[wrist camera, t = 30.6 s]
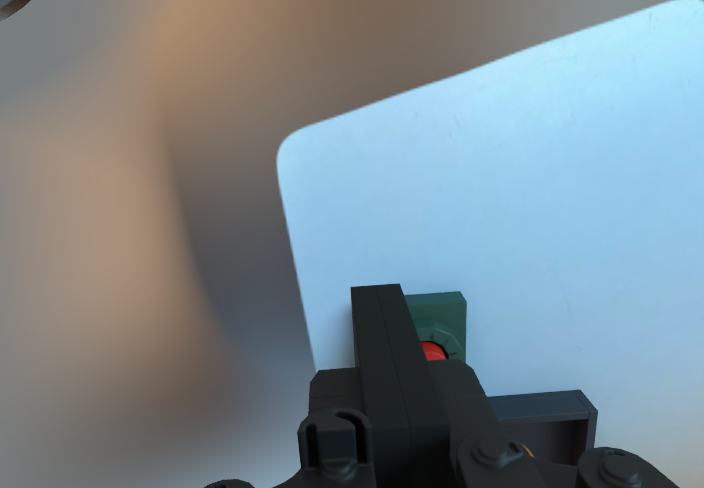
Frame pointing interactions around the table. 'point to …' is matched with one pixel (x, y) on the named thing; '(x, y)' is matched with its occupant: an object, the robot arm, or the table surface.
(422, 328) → the panel
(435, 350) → the button
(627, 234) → the table surface
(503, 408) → the tray
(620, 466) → the robot arm
